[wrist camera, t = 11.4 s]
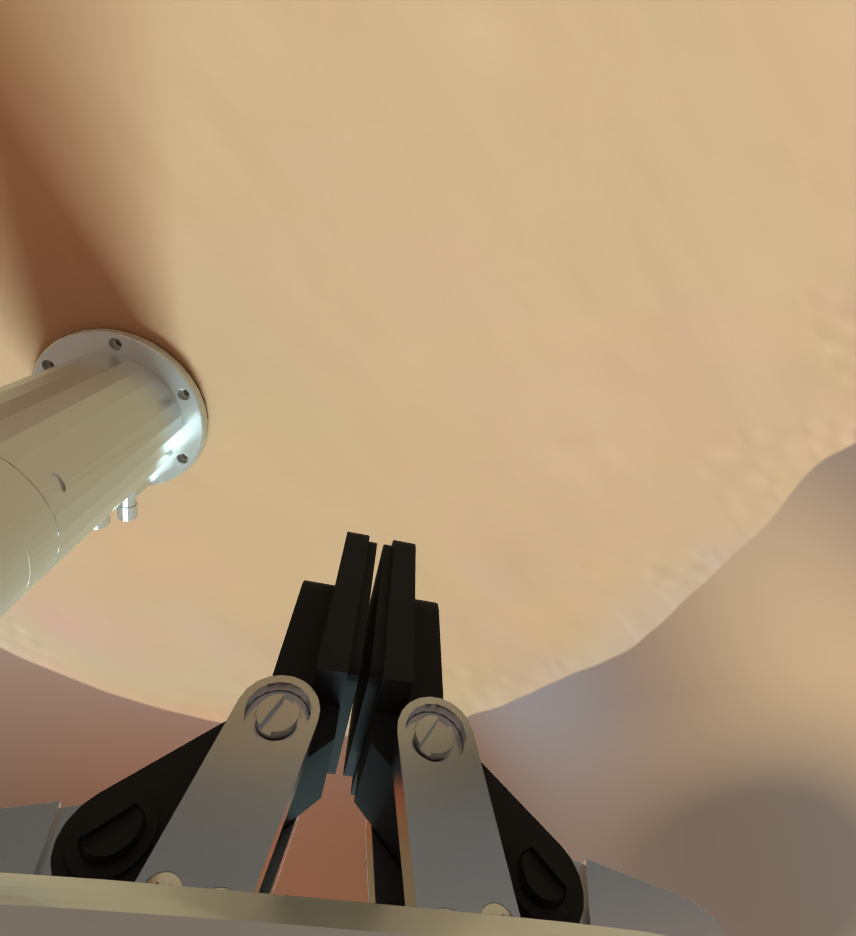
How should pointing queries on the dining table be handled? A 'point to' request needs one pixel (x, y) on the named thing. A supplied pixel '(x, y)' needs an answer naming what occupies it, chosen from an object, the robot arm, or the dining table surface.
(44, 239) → the dining table surface
